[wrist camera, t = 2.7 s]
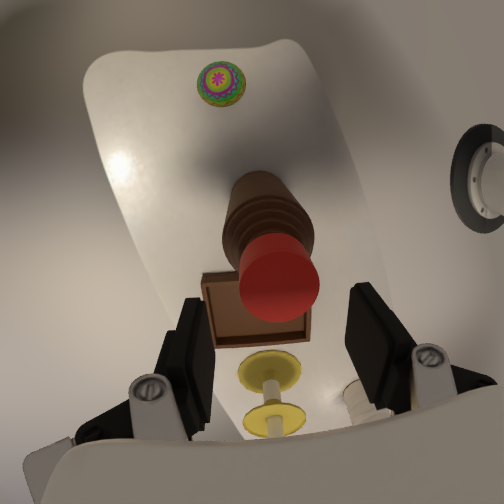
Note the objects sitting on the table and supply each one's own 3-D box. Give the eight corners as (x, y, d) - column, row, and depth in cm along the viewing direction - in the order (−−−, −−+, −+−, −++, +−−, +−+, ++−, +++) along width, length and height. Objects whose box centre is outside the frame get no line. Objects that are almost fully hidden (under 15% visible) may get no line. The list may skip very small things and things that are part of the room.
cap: (309, 229, 16) (322, 248, 13) (309, 292, 17) (319, 318, 15) (236, 235, 16) (235, 254, 13) (242, 298, 17) (242, 325, 15)
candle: (296, 392, 46) (321, 538, 21) (237, 392, 45) (236, 544, 20) (305, 349, 42) (346, 520, 17) (238, 349, 41) (236, 531, 16)
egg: (250, 102, 29) (251, 95, 24) (206, 113, 29) (198, 108, 24) (239, 63, 27) (238, 47, 22) (196, 74, 28) (186, 61, 22)
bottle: (285, 169, 32) (344, 217, 13) (288, 223, 34) (337, 330, 16) (228, 173, 32) (204, 227, 13) (233, 227, 34) (221, 340, 16)
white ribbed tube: (373, 372, 45) (425, 493, 21) (378, 392, 47) (422, 502, 24) (327, 391, 46) (360, 519, 23) (335, 409, 48) (365, 524, 25)
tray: (308, 266, 37) (312, 274, 34) (307, 331, 40) (310, 341, 38) (202, 274, 37) (200, 283, 34) (213, 338, 41) (212, 349, 38)
